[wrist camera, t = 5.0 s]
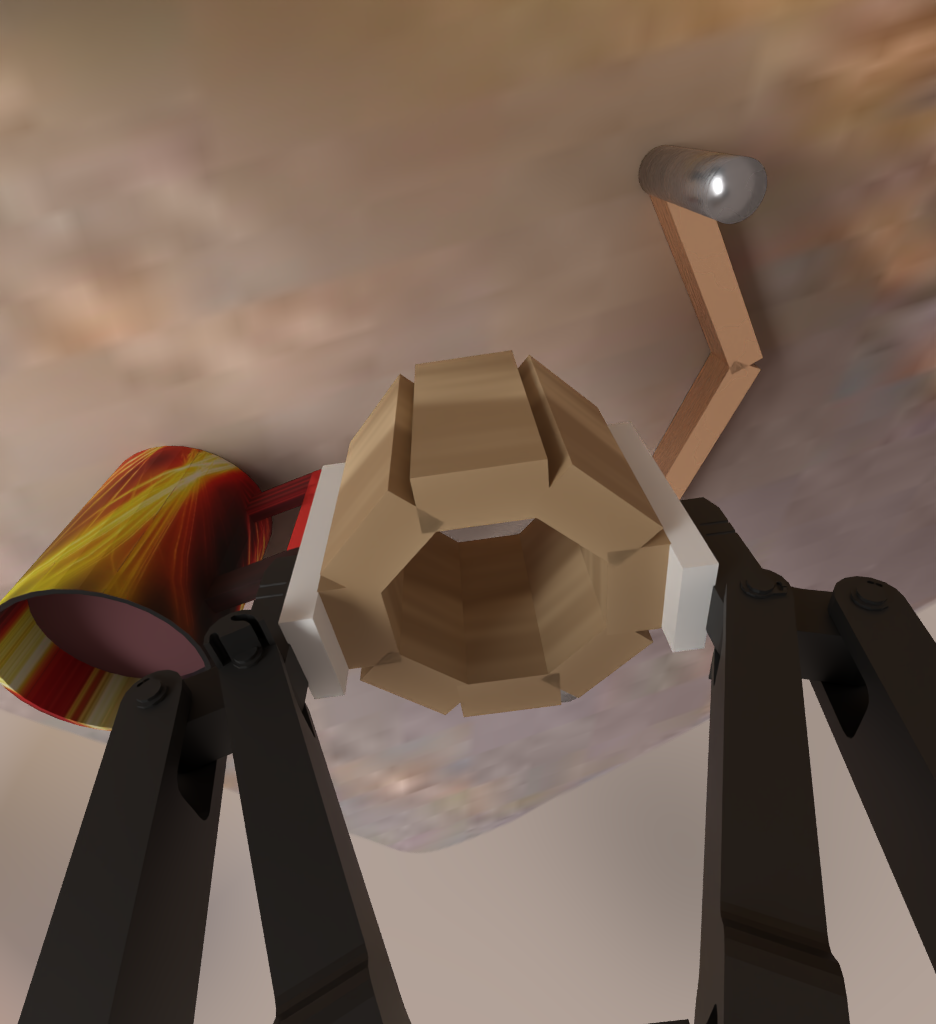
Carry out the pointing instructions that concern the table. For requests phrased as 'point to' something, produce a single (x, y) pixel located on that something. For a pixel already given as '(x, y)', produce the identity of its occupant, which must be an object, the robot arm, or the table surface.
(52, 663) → the mug
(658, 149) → the bent hammer
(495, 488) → the oak ring
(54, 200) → the table surface
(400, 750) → the table surface
